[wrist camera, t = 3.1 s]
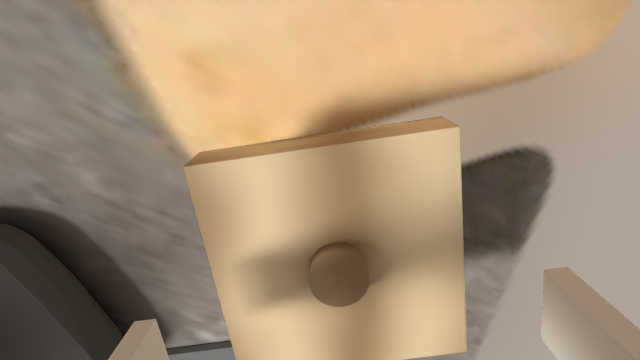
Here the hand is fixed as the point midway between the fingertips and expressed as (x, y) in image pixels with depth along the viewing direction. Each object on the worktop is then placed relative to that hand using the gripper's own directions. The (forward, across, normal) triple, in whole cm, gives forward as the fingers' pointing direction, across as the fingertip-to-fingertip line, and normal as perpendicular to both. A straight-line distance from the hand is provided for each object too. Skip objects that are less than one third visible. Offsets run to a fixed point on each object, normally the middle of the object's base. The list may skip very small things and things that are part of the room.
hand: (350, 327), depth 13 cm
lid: (+6, 0, 0) cm, 6 cm away
